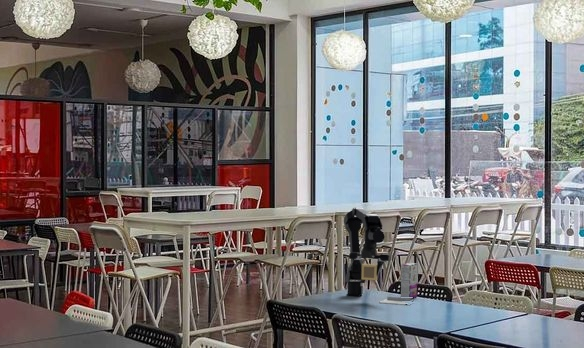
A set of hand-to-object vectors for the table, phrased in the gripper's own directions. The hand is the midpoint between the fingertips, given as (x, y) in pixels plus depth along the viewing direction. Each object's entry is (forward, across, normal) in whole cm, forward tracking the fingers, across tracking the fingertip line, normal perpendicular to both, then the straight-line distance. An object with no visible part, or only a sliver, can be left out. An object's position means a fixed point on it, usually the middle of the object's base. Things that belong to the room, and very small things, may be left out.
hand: (369, 275), depth 401 cm
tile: (+2, 0, 0) cm, 2 cm away
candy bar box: (+12, +14, +23) cm, 30 cm away
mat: (+12, +13, +3) cm, 18 cm away
